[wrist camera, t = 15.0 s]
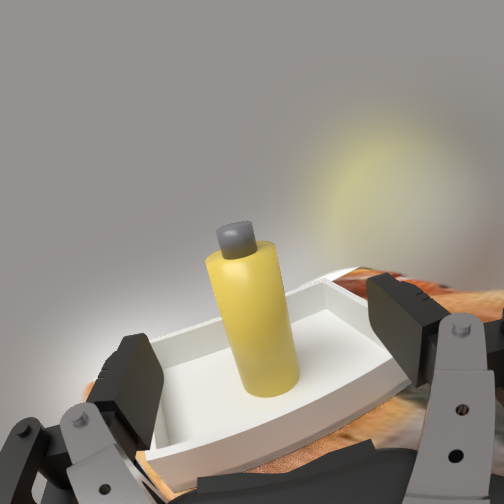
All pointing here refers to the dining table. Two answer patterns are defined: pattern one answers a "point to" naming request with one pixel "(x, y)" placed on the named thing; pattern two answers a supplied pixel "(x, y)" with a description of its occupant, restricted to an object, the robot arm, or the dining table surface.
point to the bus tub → (274, 408)
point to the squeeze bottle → (254, 310)
